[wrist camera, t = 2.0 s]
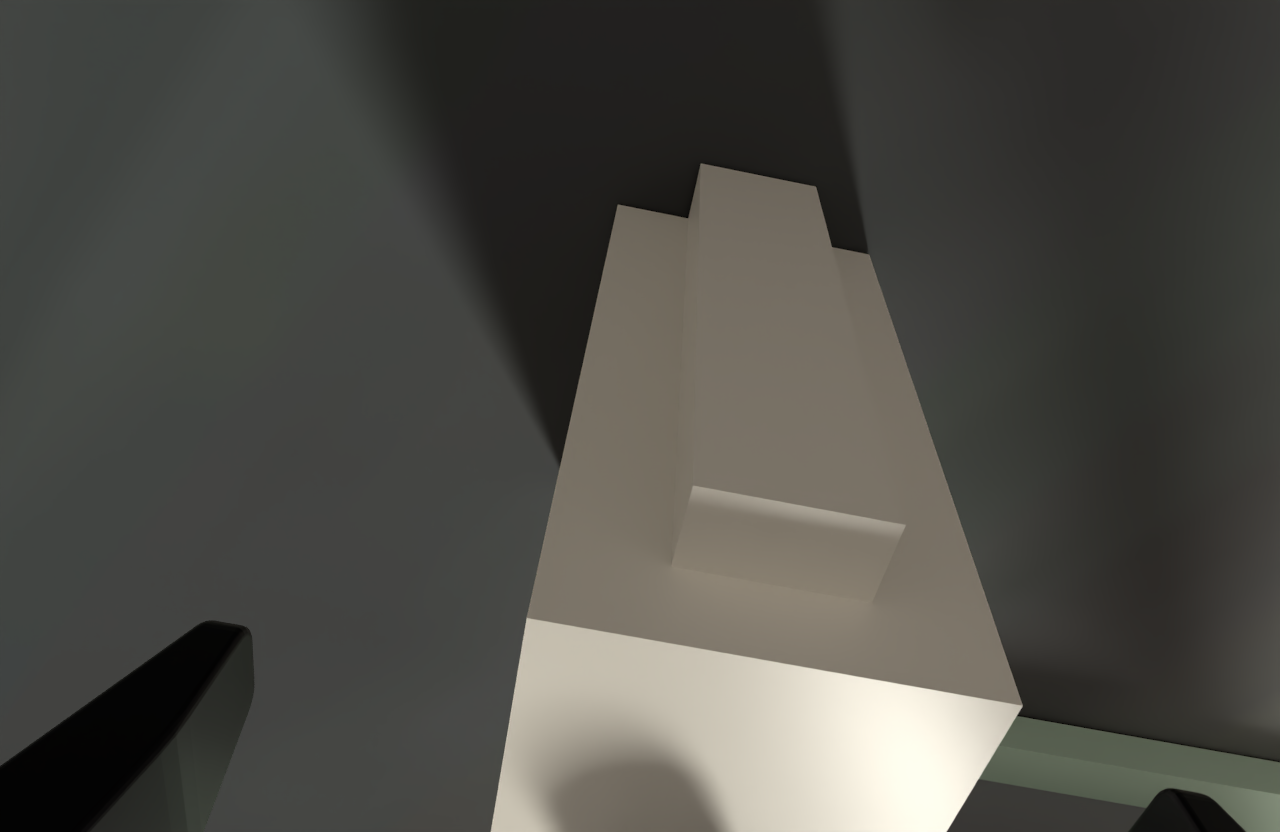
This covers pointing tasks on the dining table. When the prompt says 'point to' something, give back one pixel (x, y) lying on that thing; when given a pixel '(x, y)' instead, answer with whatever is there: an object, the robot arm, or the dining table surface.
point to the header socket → (1038, 811)
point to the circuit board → (1134, 770)
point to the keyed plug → (749, 552)
